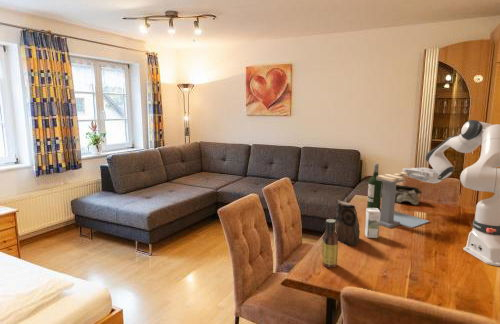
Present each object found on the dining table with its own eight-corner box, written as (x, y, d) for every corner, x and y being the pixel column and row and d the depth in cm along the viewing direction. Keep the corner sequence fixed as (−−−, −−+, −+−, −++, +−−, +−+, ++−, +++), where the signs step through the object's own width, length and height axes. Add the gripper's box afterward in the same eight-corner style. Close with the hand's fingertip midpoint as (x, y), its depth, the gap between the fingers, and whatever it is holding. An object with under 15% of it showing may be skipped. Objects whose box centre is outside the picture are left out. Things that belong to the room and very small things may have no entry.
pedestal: (384, 219, 194) (387, 176, 190) (399, 224, 186) (403, 179, 182) (373, 222, 189) (376, 178, 185) (389, 228, 181) (392, 181, 176)
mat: (392, 211, 210) (392, 210, 210) (429, 222, 190) (429, 221, 190) (374, 216, 200) (374, 215, 200) (411, 228, 180) (411, 227, 180)
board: (397, 174, 195) (397, 171, 195) (413, 177, 187) (413, 174, 187) (376, 178, 185) (376, 174, 184) (392, 181, 176) (392, 178, 176)
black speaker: (357, 247, 156) (359, 207, 153) (330, 243, 161) (332, 203, 158) (360, 238, 167) (362, 200, 164) (335, 234, 172) (336, 197, 169)
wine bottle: (364, 208, 216) (367, 162, 211) (374, 207, 218) (377, 162, 213) (372, 211, 208) (375, 165, 203) (382, 210, 211) (386, 164, 206)
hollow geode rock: (376, 204, 239) (373, 193, 229) (380, 190, 245) (377, 178, 235) (420, 210, 223) (418, 198, 213) (422, 194, 229) (421, 182, 219)
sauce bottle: (326, 260, 144) (327, 216, 140) (339, 264, 140) (341, 219, 136) (318, 265, 139) (320, 220, 135) (332, 270, 135) (334, 224, 131)
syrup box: (375, 234, 172) (377, 207, 170) (378, 238, 166) (380, 211, 164) (364, 233, 173) (365, 207, 170) (367, 238, 167) (368, 210, 165)
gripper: (441, 182, 195) (429, 180, 187) (408, 177, 212) (396, 174, 204) (443, 172, 195) (431, 169, 187) (410, 167, 212) (398, 164, 204)
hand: (413, 172), depth 196 cm, fingers open, 8 cm apart
